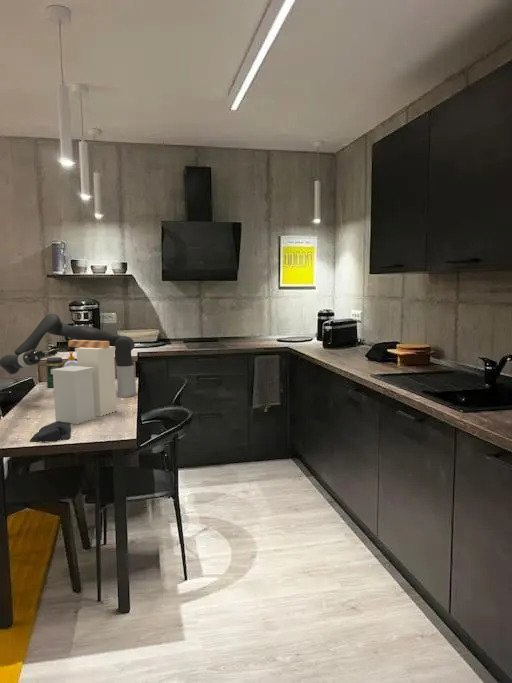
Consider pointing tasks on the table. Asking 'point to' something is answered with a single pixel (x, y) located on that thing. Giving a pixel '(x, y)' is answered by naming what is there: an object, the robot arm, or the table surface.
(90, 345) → the board
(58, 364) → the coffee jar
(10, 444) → the table surface
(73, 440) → the table surface
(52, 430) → the dark slate chunk
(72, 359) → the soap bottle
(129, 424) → the table surface
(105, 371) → the stand
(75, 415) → the block
